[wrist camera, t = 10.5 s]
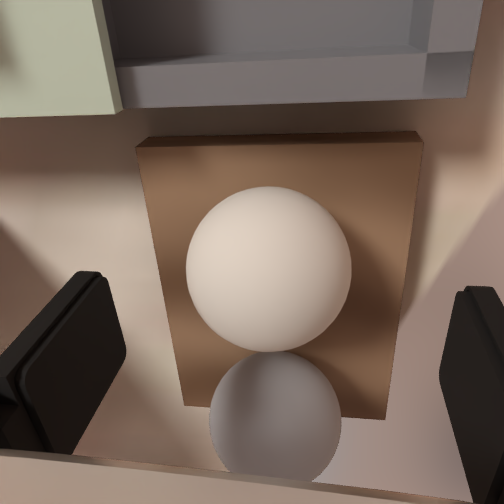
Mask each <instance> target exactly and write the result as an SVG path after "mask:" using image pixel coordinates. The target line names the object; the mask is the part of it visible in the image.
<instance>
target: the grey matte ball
mask: <svg viewBox="0 0 504 504" xmlns="http://www.w3.org/2000/svg"><path fill="white" fill-rule="evenodd" d="M209 426H210V434H211V438H212V442H213V445H214V448H215V450H216V452H217V454H218V456H219V458H220V460H221V461H222V463H223V464H224V465H225V467H226V468H227V469H228V470H229V471H230V472H232V473H240V474H249V475H258V476H267V477H275V478H284V479H292V480H301V481H309V482H311V481H312V480H314V479H315V478H316V477H317V476H319V475H320V474H321V473H322V471H323V470H324V469H325V468H326V467H327V466H328V464H329V463H330V461H331V459H332V458H333V456H334V454H335V451H336V449H337V446H338V443H339V438H340V433H341V412H340V406H339V402H338V399H337V396H336V394H335V391H334V389H333V387H332V385H331V384H330V382H329V380H328V379H327V378H326V377H325V375H324V374H323V373H322V372H321V371H320V370H319V369H318V368H317V367H316V366H315V365H314V364H312V363H311V362H309V361H308V360H306V359H304V358H303V357H300V356H298V355H296V354H293V353H289V352H284V351H277V352H259V353H255V354H252V355H250V356H248V357H246V358H244V359H242V360H241V361H239V362H238V363H236V364H235V365H234V366H233V367H232V368H230V369H229V370H228V372H227V373H226V374H225V375H224V377H223V378H222V379H221V381H220V383H219V384H218V386H217V388H216V390H215V393H214V395H213V398H212V401H211V407H210V414H209Z"/></svg>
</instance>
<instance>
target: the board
mask: <svg viewBox="0 0 504 504" xmlns="http://www.w3.org/2000/svg"><path fill="white" fill-rule="evenodd" d="M423 144H424V142H423V141H422V139H421V138H420V137H419V135H418V134H417V133H416V131H402V132H356V133H309V134H262V135H216V136H169V137H148V138H147V139H146V140H144V141H143V142H142V143H140V144H139V145H138V146H137V147H135V149H136V154H137V159H138V164H139V170H140V175H141V180H142V185H143V191H144V196H145V201H146V206H147V212H148V217H149V222H150V227H151V233H152V238H153V243H154V248H155V254H156V259H157V264H158V269H159V275H160V280H161V285H162V290H163V296H164V301H165V306H166V311H167V317H168V322H169V327H170V332H171V338H172V343H173V348H174V353H175V359H176V364H177V369H178V374H179V380H180V385H181V390H182V395H183V401H184V406H197V407H211V401H212V398H213V395H214V393H215V390H216V388H217V386H218V384H219V383H220V381H221V379H222V378H223V377H224V375H225V374H226V373H227V372H228V370H229V369H230V368H232V367H233V366H234V365H235V364H236V363H238V362H239V361H241V360H242V359H244V358H246V357H248V356H250V355H252V354H255V353H259V352H260V351H253V350H248V349H245V348H242V347H239V346H237V345H234V344H232V343H231V342H229V341H227V340H225V339H224V338H222V337H221V336H219V335H218V334H217V333H215V332H214V331H213V330H212V329H211V328H210V327H209V326H208V325H207V324H206V323H205V321H204V320H203V319H202V317H201V316H200V314H199V313H198V311H197V310H196V308H195V306H194V304H193V301H192V298H191V296H190V293H189V289H188V285H187V277H186V260H187V253H188V249H189V245H190V242H191V240H192V237H193V235H194V232H195V230H196V229H197V227H198V225H199V224H200V222H201V221H202V220H203V218H204V217H205V216H206V215H207V213H208V212H209V211H210V210H211V209H213V208H214V207H215V206H216V205H217V204H218V203H220V202H221V201H223V200H224V199H226V198H227V197H229V196H231V195H233V194H235V193H237V192H240V191H243V190H246V189H251V188H256V187H266V186H271V187H282V188H287V189H291V190H294V191H297V192H300V193H302V194H304V195H306V196H308V197H310V198H311V199H313V200H315V201H316V202H318V203H319V204H320V205H321V206H323V207H324V208H325V209H326V210H327V211H328V212H329V213H330V214H331V215H332V216H333V218H334V219H335V220H336V222H337V223H338V225H339V226H340V228H341V230H342V232H343V234H344V236H345V238H346V241H347V244H348V247H349V251H350V257H351V282H350V288H349V291H348V295H347V298H346V301H345V303H344V305H343V307H342V309H341V311H340V312H339V314H338V315H337V317H336V318H335V320H334V321H333V322H332V323H331V324H330V325H329V326H328V327H327V329H326V330H325V331H324V332H322V333H321V334H320V335H319V336H317V337H316V338H314V339H312V340H311V341H309V342H307V343H306V344H303V345H301V346H299V347H296V348H293V349H289V350H285V351H284V352H289V353H293V354H296V355H298V356H300V357H303V358H304V359H306V360H308V361H309V362H311V363H312V364H314V365H315V366H316V367H317V368H318V369H319V370H320V371H321V372H322V373H323V374H324V375H325V377H326V378H327V379H328V380H329V382H330V384H331V385H332V387H333V389H334V391H335V394H336V396H337V399H338V402H339V406H340V412H341V417H349V418H363V419H377V420H385V417H386V409H387V402H388V395H389V388H390V381H391V374H392V367H393V360H394V352H395V345H396V338H397V331H398V324H399V316H400V309H401V302H402V295H403V288H404V281H405V273H406V266H407V259H408V252H409V245H410V237H411V230H412V223H413V216H414V209H415V202H416V194H417V187H418V180H419V173H420V166H421V158H422V151H423Z"/></svg>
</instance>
